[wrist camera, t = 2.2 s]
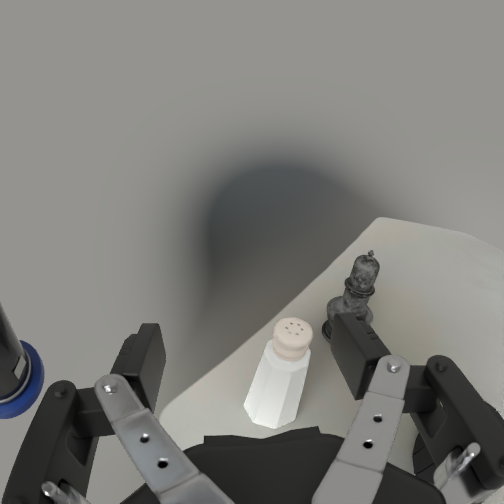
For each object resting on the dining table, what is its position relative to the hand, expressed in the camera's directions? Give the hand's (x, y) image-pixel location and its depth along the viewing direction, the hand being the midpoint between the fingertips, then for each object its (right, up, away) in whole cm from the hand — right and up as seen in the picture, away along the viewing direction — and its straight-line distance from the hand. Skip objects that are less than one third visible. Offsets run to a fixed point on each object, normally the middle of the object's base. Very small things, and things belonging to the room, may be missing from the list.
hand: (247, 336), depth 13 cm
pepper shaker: (+2, -11, +12) cm, 17 cm away
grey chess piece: (+11, -7, +22) cm, 26 cm away
